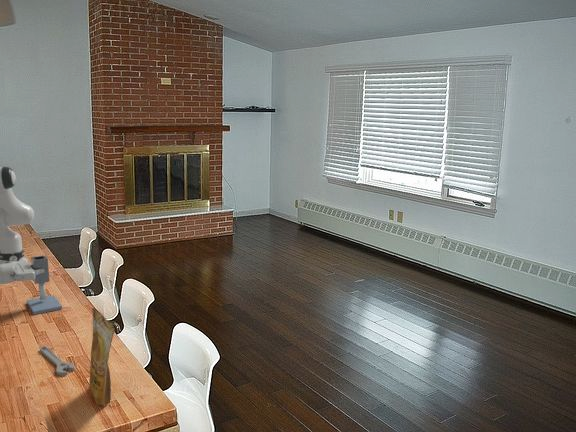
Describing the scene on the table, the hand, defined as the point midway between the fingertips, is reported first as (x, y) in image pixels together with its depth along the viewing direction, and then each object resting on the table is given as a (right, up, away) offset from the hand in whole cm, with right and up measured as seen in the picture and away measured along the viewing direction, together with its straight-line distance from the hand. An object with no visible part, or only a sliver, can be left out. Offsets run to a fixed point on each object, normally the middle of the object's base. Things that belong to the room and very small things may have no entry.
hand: (42, 268), depth 249 cm
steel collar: (-1, -6, +1) cm, 6 cm away
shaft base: (0, -18, +2) cm, 18 cm away
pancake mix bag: (+51, -36, -68) cm, 93 cm away
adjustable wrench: (+27, -31, -47) cm, 62 cm away
